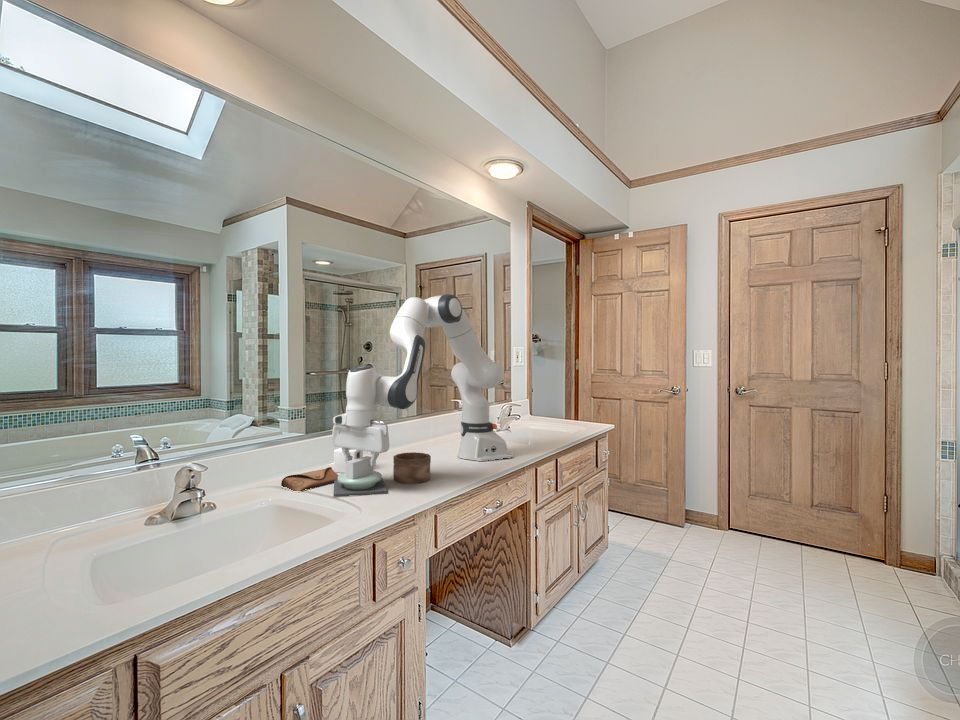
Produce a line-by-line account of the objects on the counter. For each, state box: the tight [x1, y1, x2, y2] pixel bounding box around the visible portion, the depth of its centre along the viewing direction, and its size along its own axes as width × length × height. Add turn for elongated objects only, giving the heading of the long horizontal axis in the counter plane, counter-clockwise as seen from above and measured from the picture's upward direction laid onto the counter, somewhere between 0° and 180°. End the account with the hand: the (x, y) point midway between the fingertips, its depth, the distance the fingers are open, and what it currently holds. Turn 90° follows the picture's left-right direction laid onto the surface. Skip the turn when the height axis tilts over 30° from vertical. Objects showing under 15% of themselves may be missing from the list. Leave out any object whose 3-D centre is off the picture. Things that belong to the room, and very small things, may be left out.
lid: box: [338, 455, 383, 490], centre depth 140 cm, size 13×13×8 cm
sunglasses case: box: [280, 466, 340, 492], centre depth 144 cm, size 18×7×7 cm, turn 145°
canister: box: [392, 451, 432, 485], centre depth 152 cm, size 12×12×8 cm
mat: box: [333, 477, 388, 497], centre depth 140 cm, size 15×15×1 cm
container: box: [332, 447, 364, 474], centre depth 161 cm, size 8×8×13 cm
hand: (360, 464), depth 140 cm, fingers open, 8 cm apart
